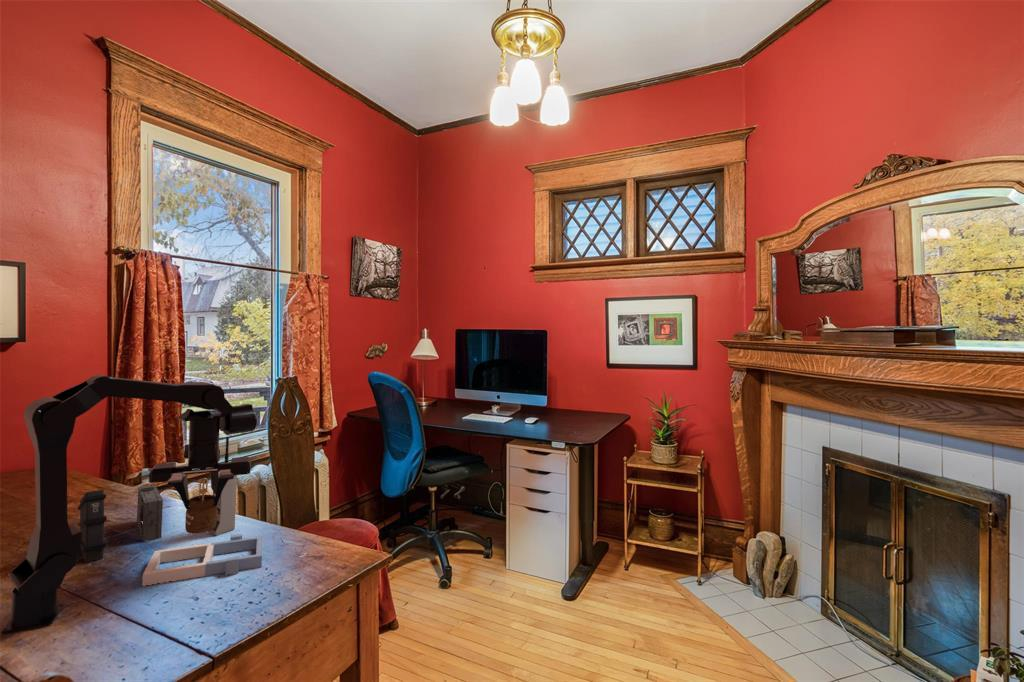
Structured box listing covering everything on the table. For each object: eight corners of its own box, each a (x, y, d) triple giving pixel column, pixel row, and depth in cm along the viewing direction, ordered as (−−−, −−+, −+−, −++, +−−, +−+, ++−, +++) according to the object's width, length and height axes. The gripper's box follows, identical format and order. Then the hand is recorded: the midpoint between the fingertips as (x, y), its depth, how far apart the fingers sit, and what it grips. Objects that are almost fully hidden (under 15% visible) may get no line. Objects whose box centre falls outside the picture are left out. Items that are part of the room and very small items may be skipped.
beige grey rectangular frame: (261, 569, 104) (261, 555, 104) (140, 589, 94) (141, 574, 94) (262, 543, 116) (262, 531, 116) (156, 559, 106) (156, 545, 106)
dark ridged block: (85, 561, 100) (84, 492, 105) (77, 567, 108) (76, 503, 113) (108, 556, 103) (105, 488, 108) (98, 562, 111) (97, 499, 115)
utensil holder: (215, 521, 109) (217, 471, 109) (217, 531, 104) (219, 478, 103) (184, 527, 105) (186, 474, 105) (185, 537, 100) (187, 482, 100)
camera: (135, 521, 126) (137, 485, 126) (153, 518, 129) (155, 482, 129) (142, 542, 114) (143, 502, 114) (161, 538, 117) (163, 499, 117)
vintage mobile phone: (207, 532, 121) (211, 438, 121) (226, 526, 125) (230, 434, 125) (215, 536, 119) (219, 440, 119) (234, 529, 124) (238, 436, 124)
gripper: (252, 428, 116) (250, 490, 116) (160, 433, 107) (158, 500, 107) (251, 438, 106) (248, 505, 106) (149, 444, 97) (147, 517, 97)
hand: (201, 506), depth 104 cm, fingers closed on utensil holder, 5 cm apart
